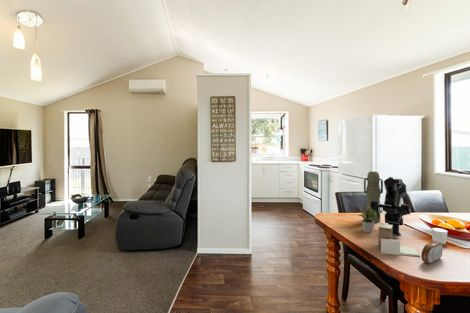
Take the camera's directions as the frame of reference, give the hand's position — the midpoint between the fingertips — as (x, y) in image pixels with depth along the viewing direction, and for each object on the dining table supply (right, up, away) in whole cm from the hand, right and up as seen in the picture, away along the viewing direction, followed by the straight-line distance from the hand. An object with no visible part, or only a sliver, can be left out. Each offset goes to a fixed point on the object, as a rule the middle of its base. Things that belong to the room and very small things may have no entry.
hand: (387, 220), depth 134 cm
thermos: (+15, -11, +41) cm, 46 cm away
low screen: (-5, -14, -10) cm, 18 cm away
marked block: (-4, -14, -5) cm, 15 cm away
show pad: (+4, -14, -9) cm, 17 cm away
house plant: (+1, -13, +21) cm, 24 cm away
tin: (+9, -14, -19) cm, 25 cm away
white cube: (+30, -13, +2) cm, 32 cm away
